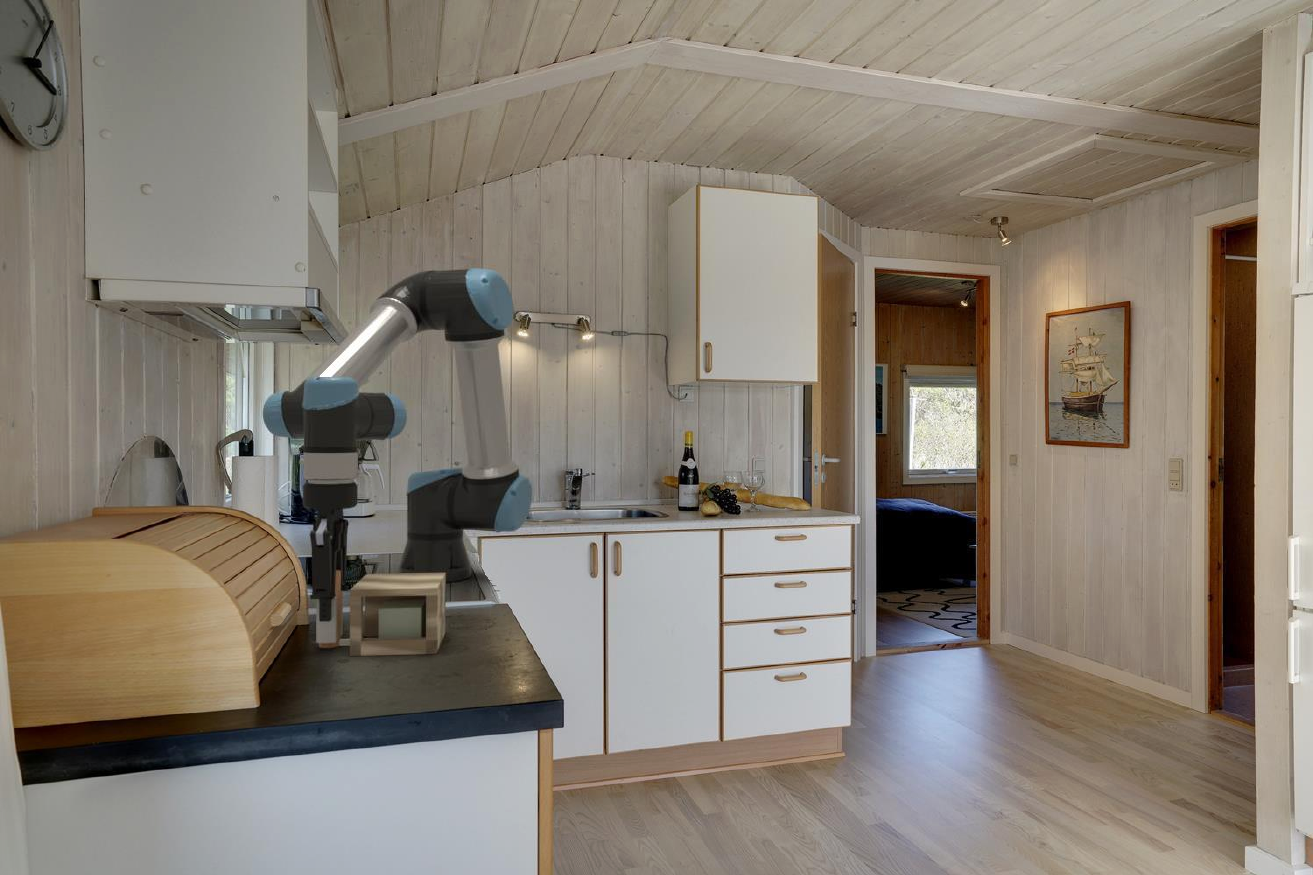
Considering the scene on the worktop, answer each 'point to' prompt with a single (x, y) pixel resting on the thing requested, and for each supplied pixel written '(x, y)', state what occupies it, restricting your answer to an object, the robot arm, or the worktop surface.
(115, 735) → the worktop surface
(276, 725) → the worktop surface
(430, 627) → the open wooden box
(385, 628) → the block with rod
